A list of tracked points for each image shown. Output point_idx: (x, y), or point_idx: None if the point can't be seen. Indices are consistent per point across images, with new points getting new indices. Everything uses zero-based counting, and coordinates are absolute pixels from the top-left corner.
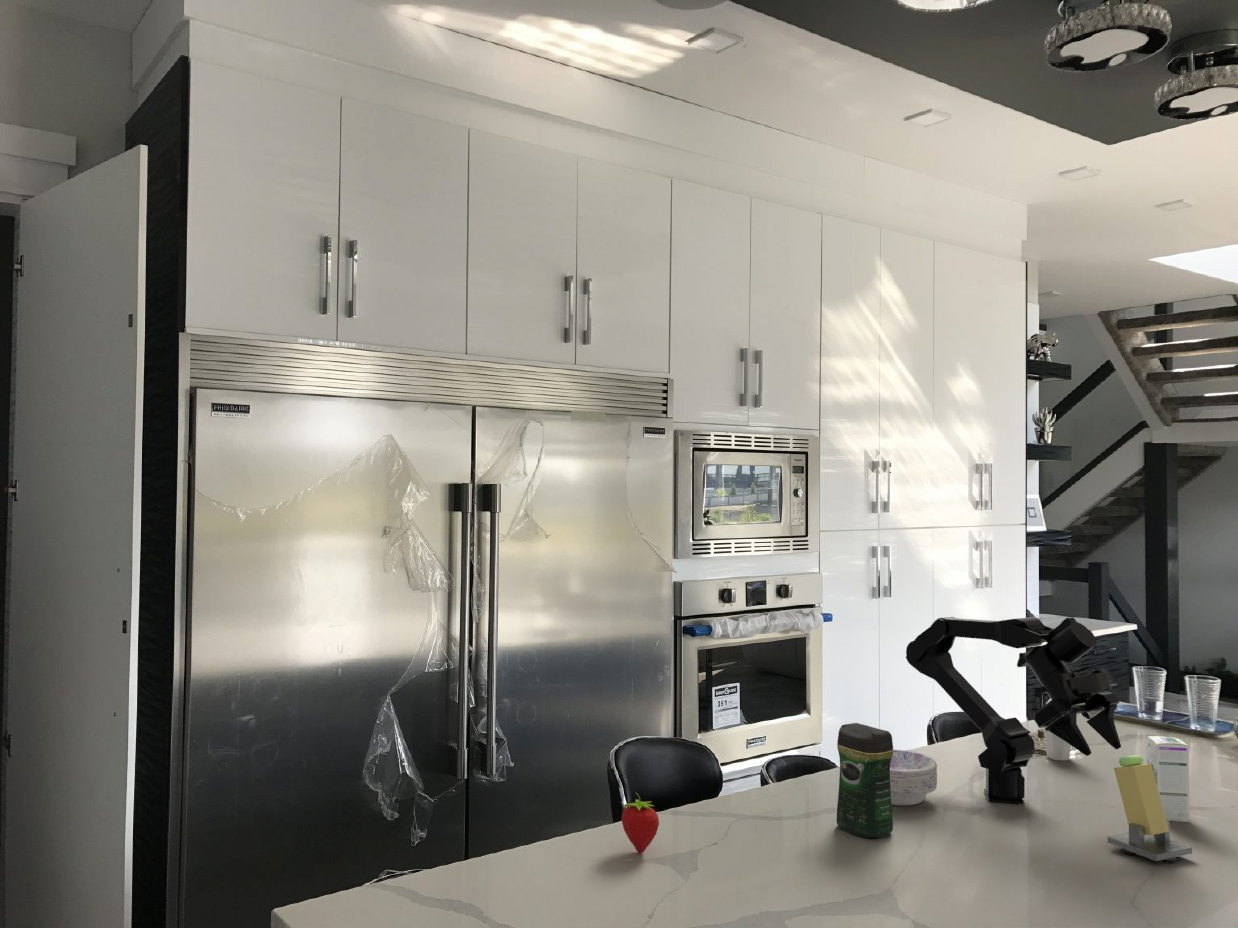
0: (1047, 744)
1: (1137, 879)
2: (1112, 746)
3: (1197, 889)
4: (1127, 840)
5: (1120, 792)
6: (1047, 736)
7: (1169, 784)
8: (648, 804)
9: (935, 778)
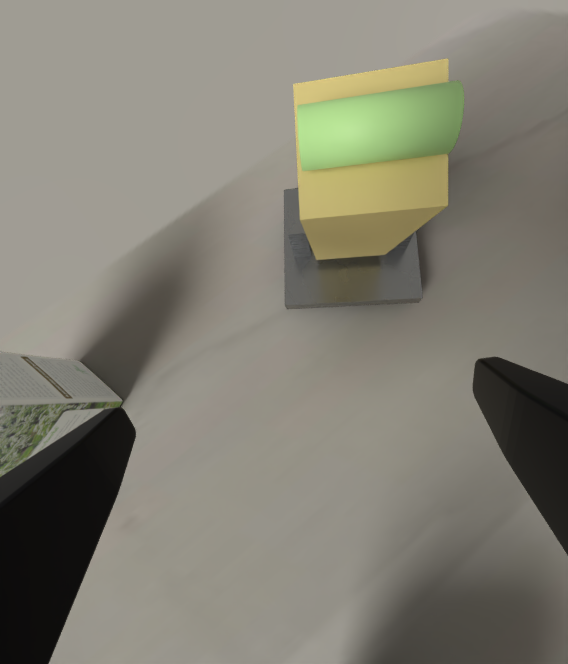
0: None
1: (505, 157)
2: (127, 463)
3: None
4: (394, 262)
5: (410, 233)
6: None
7: (26, 380)
8: None
9: None
